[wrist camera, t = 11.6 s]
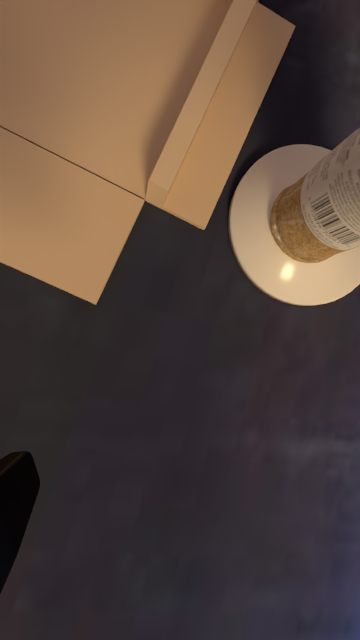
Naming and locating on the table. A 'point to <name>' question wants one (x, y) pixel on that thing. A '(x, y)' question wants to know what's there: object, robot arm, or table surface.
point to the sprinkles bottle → (321, 207)
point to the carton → (121, 121)
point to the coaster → (260, 247)
